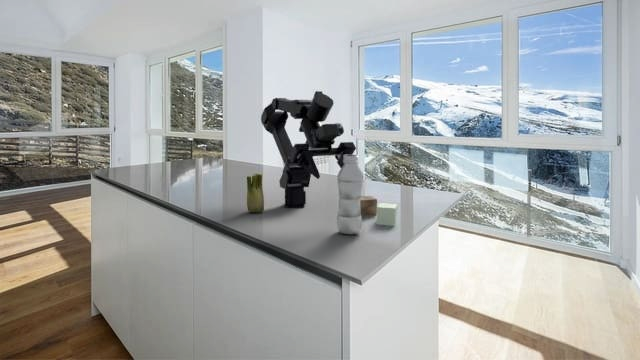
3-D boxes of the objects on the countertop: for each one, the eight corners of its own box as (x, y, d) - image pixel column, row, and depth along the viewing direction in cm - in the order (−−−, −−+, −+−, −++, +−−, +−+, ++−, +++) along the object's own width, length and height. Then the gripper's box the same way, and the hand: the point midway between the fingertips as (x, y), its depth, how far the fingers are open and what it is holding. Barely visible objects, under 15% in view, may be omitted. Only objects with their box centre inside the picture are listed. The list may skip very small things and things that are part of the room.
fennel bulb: (248, 214, 110) (247, 175, 108) (244, 211, 114) (243, 173, 112) (266, 213, 112) (266, 174, 110) (262, 209, 117) (261, 172, 114)
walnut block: (361, 216, 109) (361, 200, 109) (355, 212, 114) (355, 196, 113) (376, 215, 111) (377, 199, 110) (370, 211, 115) (370, 195, 115)
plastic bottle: (343, 227, 98) (345, 153, 94) (366, 232, 94) (368, 155, 91) (330, 234, 92) (331, 155, 89) (354, 239, 89) (356, 157, 85)
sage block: (376, 224, 101) (377, 207, 100) (378, 219, 106) (379, 203, 105) (394, 226, 100) (395, 208, 99) (396, 221, 105) (397, 204, 104)
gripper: (293, 112, 95) (313, 159, 87) (353, 113, 104) (375, 156, 96) (282, 141, 103) (298, 186, 96) (338, 139, 112) (357, 180, 104)
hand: (333, 176), depth 98 cm, fingers open, 9 cm apart
